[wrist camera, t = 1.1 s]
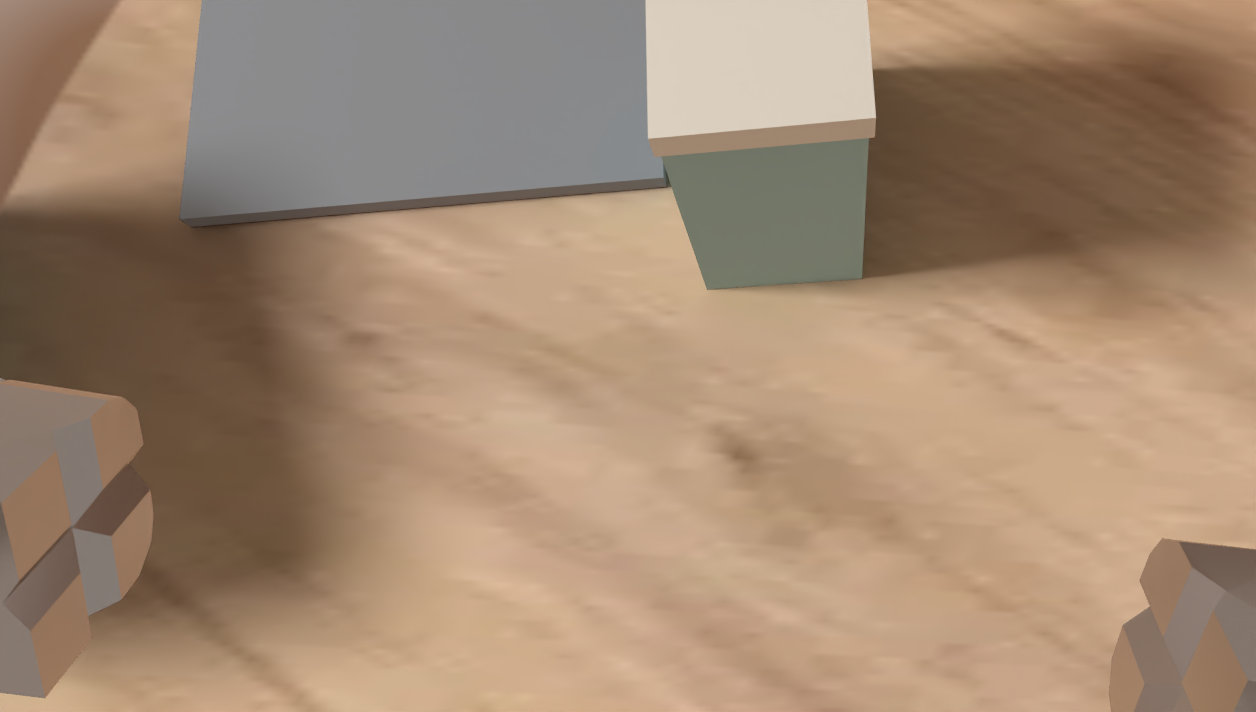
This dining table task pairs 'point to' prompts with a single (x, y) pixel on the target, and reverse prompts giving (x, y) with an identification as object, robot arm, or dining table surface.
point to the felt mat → (413, 105)
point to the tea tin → (764, 133)
